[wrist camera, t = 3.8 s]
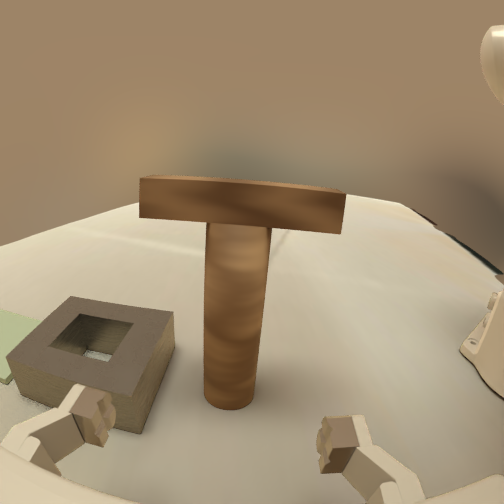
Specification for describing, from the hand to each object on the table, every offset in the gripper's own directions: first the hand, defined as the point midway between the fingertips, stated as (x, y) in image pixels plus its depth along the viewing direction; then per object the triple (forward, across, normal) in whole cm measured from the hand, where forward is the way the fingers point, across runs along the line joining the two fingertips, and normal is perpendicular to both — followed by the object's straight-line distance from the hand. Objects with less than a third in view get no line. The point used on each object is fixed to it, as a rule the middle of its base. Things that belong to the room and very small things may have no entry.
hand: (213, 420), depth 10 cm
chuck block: (+11, +11, +9) cm, 18 cm away
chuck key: (+11, 0, +9) cm, 14 cm away
